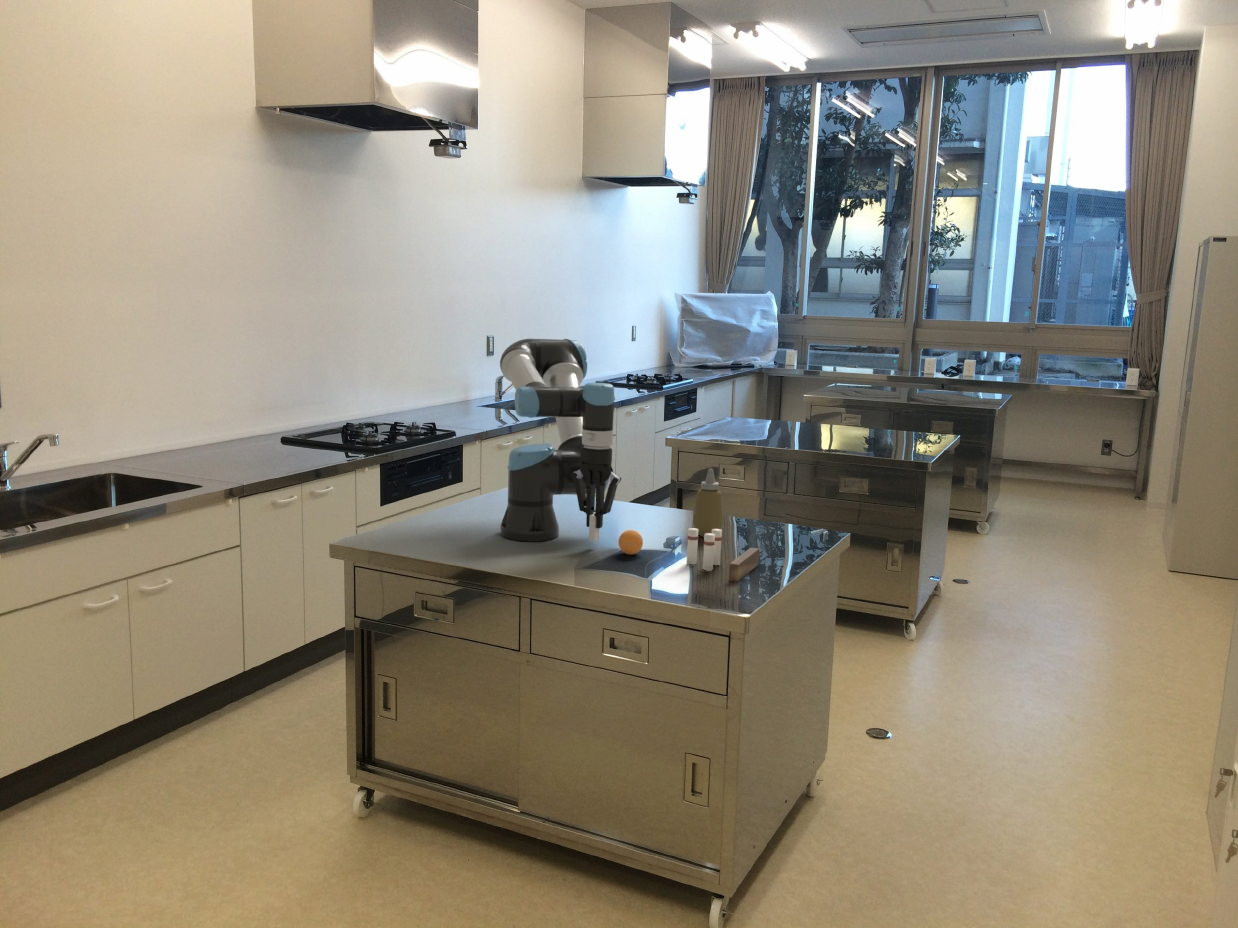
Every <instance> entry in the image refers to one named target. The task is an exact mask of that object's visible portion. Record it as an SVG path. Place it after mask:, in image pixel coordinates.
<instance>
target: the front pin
mask: <svg viewBox="0 0 1238 928" xmlns="http://www.w3.org/2000/svg"><path fill="white" fill-rule="evenodd" d="M698 541H699V536H698V529H696V528H695V527H692V528H691V527H689V528H688V529H687V544H686V545H687V546H686V547H687V548H686V563H687V564H696V563H698V546H699V545H698V544H699V543H698ZM687 564H686V565H687ZM696 565H697V564H696Z"/></svg>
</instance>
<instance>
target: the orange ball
mask: <svg viewBox="0 0 1238 928" xmlns="http://www.w3.org/2000/svg"><path fill="white" fill-rule="evenodd" d="M643 544H644V539H643V537H642V535H641V533H639V532H638V531H637V530H634V529H629V530H625V531H624V532H622V533H621V534H620V535H619V537H618V544H617V545H618V547H619V549H620V551H622V552H623V553H624V554H626V555H636V554H637V553H639V552H640V551H641V550H642V548H643V546H644V545H643Z"/></svg>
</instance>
